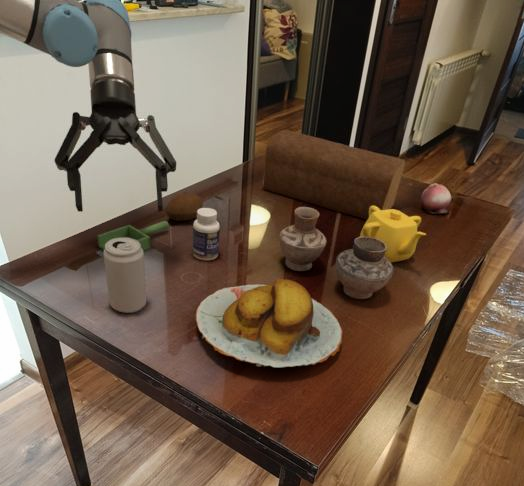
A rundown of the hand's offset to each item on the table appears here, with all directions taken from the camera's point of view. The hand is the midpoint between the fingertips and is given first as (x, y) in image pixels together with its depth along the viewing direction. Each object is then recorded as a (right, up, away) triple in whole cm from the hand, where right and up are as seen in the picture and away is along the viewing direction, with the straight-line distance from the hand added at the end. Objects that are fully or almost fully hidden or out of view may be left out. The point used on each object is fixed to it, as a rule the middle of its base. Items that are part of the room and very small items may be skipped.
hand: (120, 208), depth 84 cm
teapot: (+53, -3, +27) cm, 59 cm away
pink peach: (+72, +14, +49) cm, 88 cm away
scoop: (-2, -1, +20) cm, 20 cm away
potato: (+7, +6, +30) cm, 32 cm away
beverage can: (+1, -17, +3) cm, 17 cm away
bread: (+42, +17, +48) cm, 66 cm away
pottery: (+38, -10, +17) cm, 43 cm away
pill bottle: (+13, -5, +19) cm, 23 cm away
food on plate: (+26, -21, +1) cm, 33 cm away
